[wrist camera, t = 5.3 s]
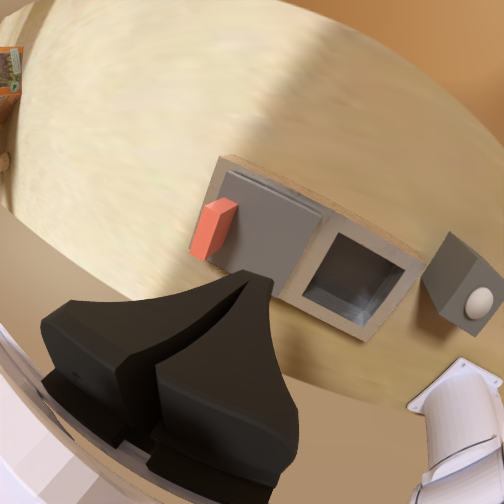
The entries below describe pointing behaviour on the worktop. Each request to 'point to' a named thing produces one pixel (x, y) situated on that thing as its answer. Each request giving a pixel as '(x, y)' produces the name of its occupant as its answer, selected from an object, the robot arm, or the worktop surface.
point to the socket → (335, 258)
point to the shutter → (253, 230)
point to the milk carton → (10, 79)
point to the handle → (4, 162)
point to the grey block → (463, 285)
